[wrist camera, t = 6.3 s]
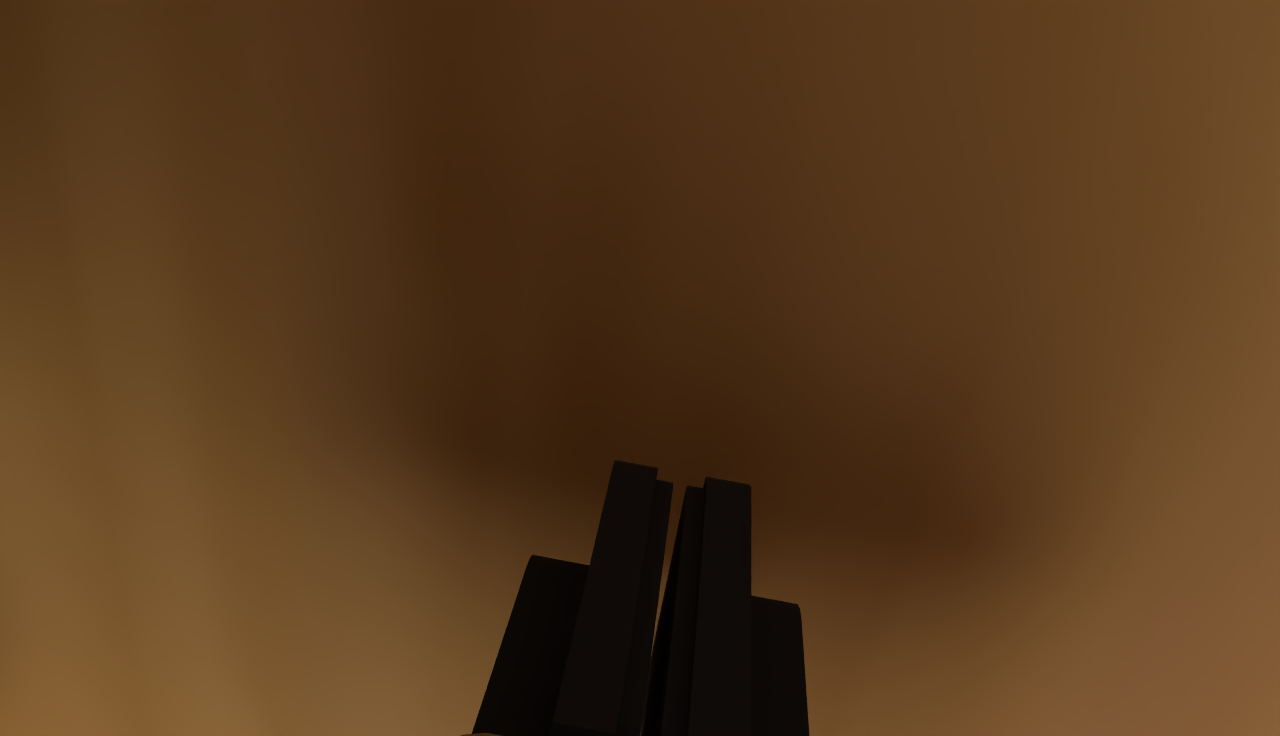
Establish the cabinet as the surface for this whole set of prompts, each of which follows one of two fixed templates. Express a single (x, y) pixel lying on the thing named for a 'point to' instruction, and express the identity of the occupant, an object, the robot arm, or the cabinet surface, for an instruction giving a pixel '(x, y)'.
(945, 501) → the cabinet surface
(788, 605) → the robot arm
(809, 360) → the cabinet surface
